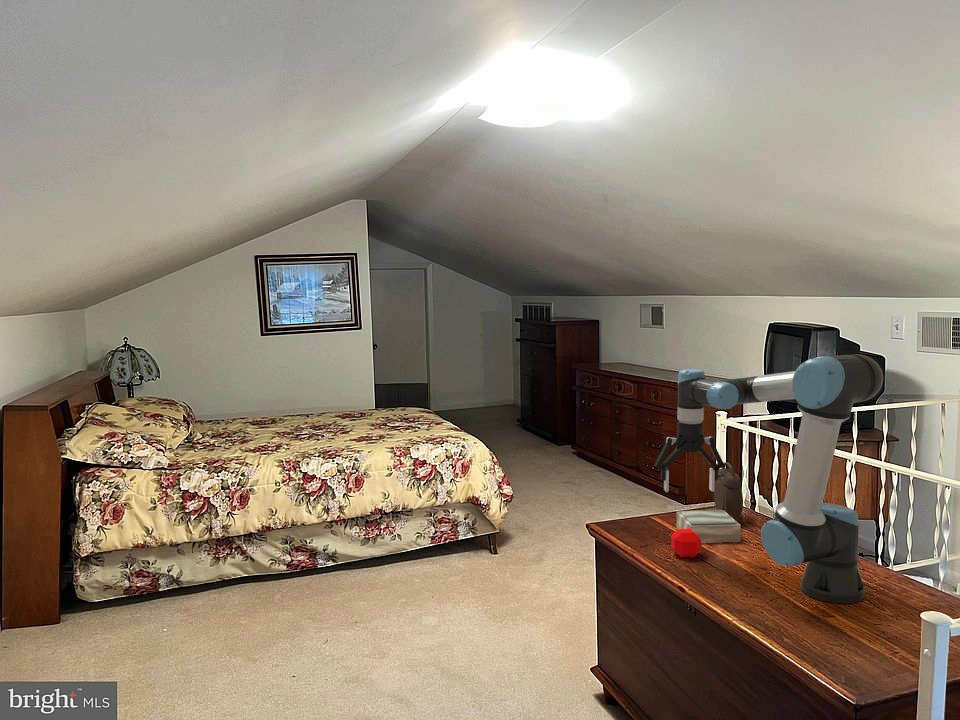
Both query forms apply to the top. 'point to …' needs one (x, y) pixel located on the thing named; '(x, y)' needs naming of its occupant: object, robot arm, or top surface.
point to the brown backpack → (728, 492)
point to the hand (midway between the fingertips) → (688, 490)
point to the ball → (686, 543)
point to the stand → (710, 525)
